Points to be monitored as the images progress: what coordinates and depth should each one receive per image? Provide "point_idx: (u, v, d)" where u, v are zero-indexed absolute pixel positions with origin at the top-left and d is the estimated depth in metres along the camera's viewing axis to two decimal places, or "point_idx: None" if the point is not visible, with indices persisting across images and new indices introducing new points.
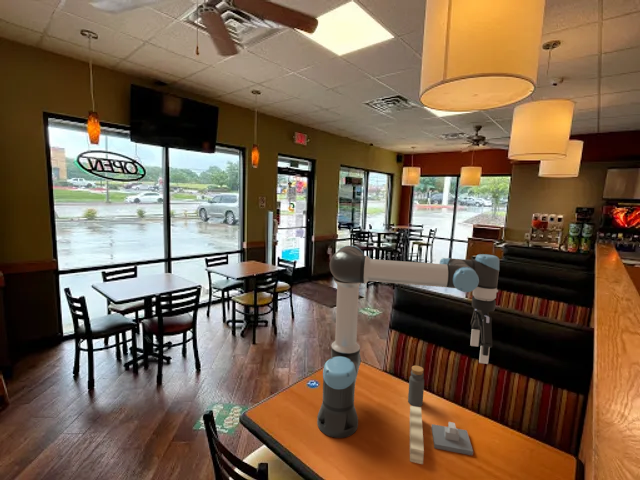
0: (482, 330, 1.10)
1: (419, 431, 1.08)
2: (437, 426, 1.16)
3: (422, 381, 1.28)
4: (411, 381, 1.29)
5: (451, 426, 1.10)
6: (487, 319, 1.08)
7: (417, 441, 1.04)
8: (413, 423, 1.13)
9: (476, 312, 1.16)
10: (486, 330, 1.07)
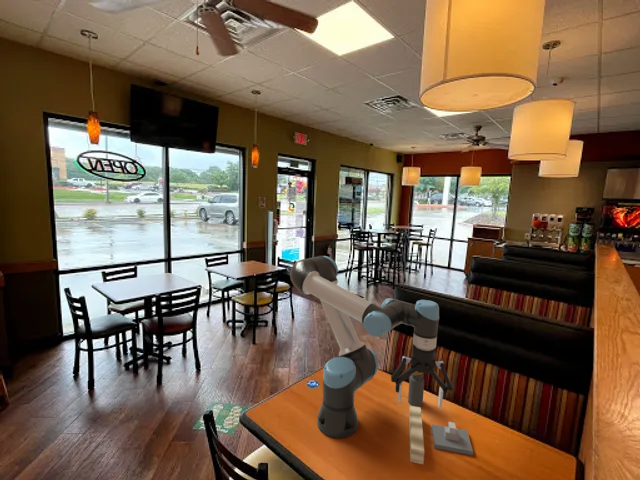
0: (405, 370, 1.11)
1: (419, 431, 1.08)
2: (437, 426, 1.16)
3: (422, 381, 1.28)
4: (411, 381, 1.29)
5: (451, 426, 1.10)
6: (402, 358, 1.10)
7: (417, 441, 1.04)
8: (413, 423, 1.13)
9: None
10: (398, 367, 1.11)
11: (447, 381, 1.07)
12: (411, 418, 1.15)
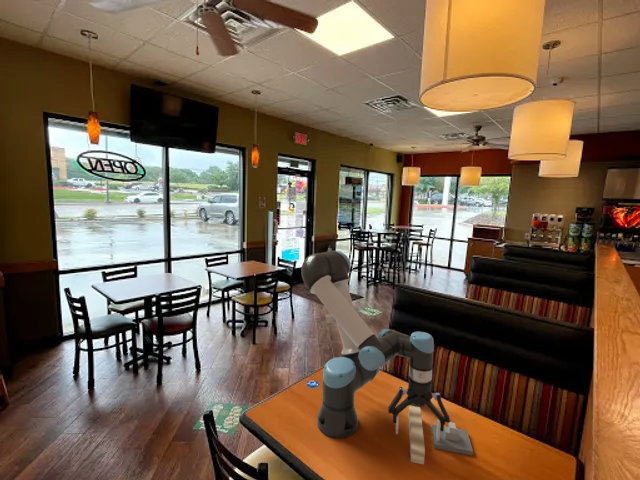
0: (402, 401, 1.12)
1: (419, 431, 1.08)
2: None
3: None
4: None
5: (451, 426, 1.10)
6: (399, 390, 1.11)
7: (418, 441, 1.04)
8: (413, 423, 1.13)
9: None
10: (395, 398, 1.12)
11: (444, 413, 1.07)
12: (411, 418, 1.15)
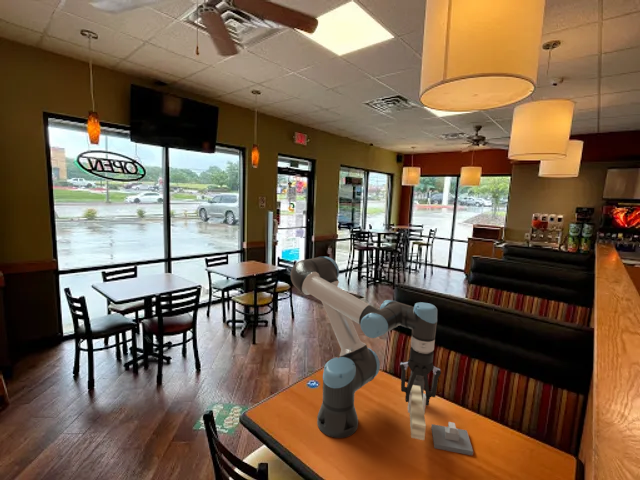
0: None
1: (420, 408, 1.08)
2: (437, 426, 1.16)
3: (422, 381, 1.28)
4: None
5: (451, 426, 1.10)
6: None
7: (418, 417, 1.03)
8: (413, 400, 1.12)
9: None
10: None
11: (434, 388, 1.07)
12: None
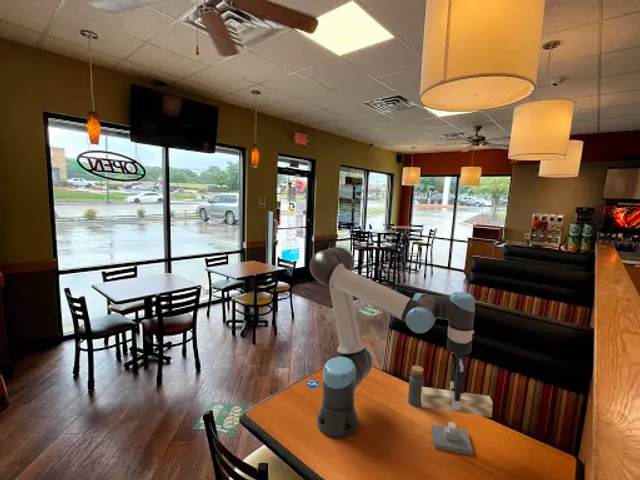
0: (455, 376, 1.05)
1: (463, 394, 1.09)
2: (437, 426, 1.16)
3: (422, 381, 1.28)
4: (411, 381, 1.29)
5: (451, 426, 1.10)
6: (461, 369, 1.01)
7: (479, 397, 1.07)
8: None
9: (452, 353, 1.08)
10: (459, 379, 1.02)
11: None
12: (445, 395, 1.08)
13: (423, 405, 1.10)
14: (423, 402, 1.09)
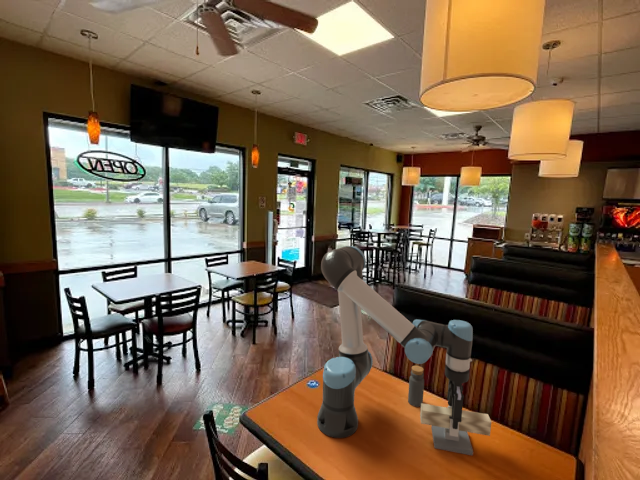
0: (453, 403, 1.06)
1: (462, 411, 1.10)
2: (437, 426, 1.16)
3: (422, 381, 1.28)
4: (411, 381, 1.29)
5: None
6: (459, 397, 1.02)
7: (477, 415, 1.08)
8: (451, 413, 1.09)
9: (449, 380, 1.10)
10: (456, 407, 1.03)
11: None
12: (444, 413, 1.09)
13: (422, 422, 1.10)
14: (422, 419, 1.10)
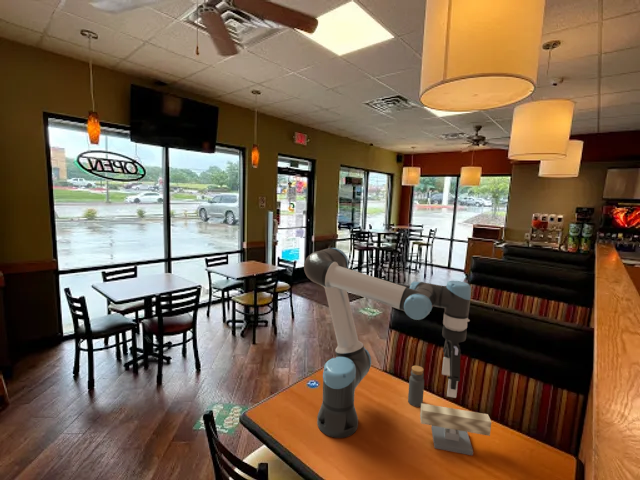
0: (451, 362, 1.04)
1: (462, 411, 1.10)
2: (437, 426, 1.16)
3: (422, 381, 1.28)
4: (411, 381, 1.29)
5: None
6: (456, 351, 1.02)
7: (477, 415, 1.08)
8: (451, 413, 1.09)
9: (447, 341, 1.10)
10: (454, 363, 1.01)
11: None
12: (444, 413, 1.09)
13: (422, 422, 1.10)
14: (422, 419, 1.10)
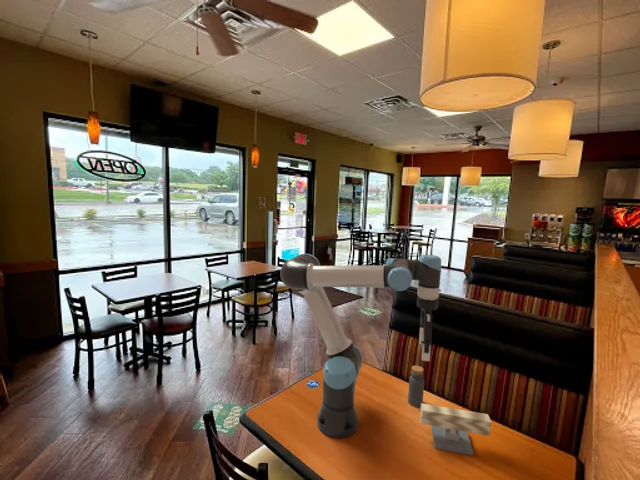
0: None
1: (462, 411, 1.10)
2: (437, 426, 1.16)
3: (422, 381, 1.28)
4: (411, 381, 1.29)
5: None
6: (428, 318, 1.11)
7: (477, 415, 1.08)
8: (451, 413, 1.09)
9: (421, 311, 1.19)
10: (427, 328, 1.10)
11: None
12: (444, 413, 1.09)
13: (422, 422, 1.10)
14: (422, 419, 1.10)
